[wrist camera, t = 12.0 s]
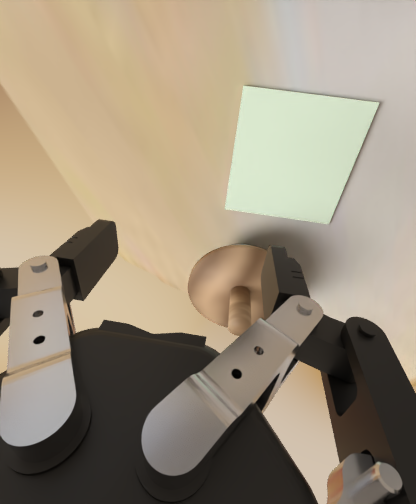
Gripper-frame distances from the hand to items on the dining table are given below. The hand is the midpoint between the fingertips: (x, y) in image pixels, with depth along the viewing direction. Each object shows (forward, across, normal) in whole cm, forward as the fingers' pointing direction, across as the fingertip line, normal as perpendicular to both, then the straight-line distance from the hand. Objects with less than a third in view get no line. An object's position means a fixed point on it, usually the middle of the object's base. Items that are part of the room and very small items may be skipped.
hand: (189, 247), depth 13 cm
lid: (+20, -6, +20) cm, 29 cm away
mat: (+28, -10, +1) cm, 30 cm away
